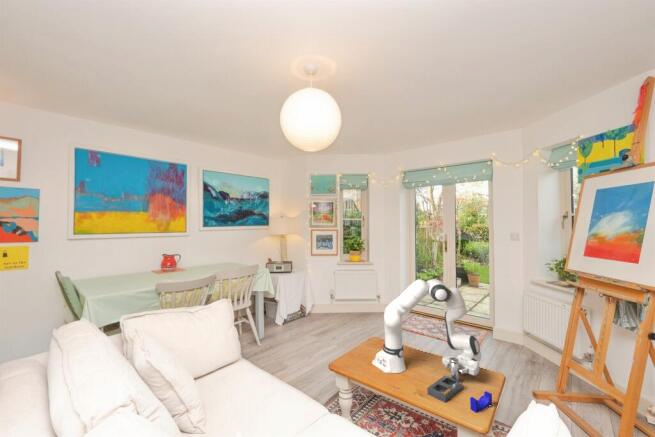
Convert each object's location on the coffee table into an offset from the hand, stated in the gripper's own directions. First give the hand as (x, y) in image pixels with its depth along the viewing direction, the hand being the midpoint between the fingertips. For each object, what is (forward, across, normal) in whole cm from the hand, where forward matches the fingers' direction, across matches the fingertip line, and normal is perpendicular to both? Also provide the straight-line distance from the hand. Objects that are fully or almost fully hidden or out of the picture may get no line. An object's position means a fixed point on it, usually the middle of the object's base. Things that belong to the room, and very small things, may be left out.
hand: (453, 369), depth 168 cm
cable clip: (+12, +19, +8) cm, 24 cm away
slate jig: (+12, +1, +8) cm, 14 cm away
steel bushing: (-1, 0, +8) cm, 8 cm away
